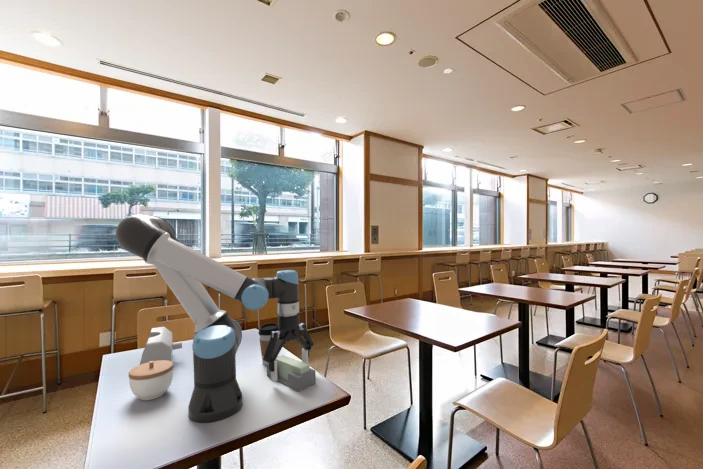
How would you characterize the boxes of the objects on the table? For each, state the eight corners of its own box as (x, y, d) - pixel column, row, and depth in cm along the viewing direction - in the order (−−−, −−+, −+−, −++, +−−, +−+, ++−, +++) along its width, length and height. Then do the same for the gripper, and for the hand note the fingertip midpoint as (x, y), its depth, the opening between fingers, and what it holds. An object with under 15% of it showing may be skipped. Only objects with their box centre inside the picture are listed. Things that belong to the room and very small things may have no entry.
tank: (182, 370, 126) (181, 338, 126) (133, 380, 119) (132, 346, 119) (182, 350, 148) (181, 323, 148) (141, 357, 141) (140, 329, 141)
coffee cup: (283, 358, 135) (282, 322, 135) (276, 367, 126) (275, 328, 126) (263, 358, 136) (262, 322, 136) (255, 366, 127) (254, 328, 127)
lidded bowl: (179, 394, 107) (178, 360, 107) (134, 409, 98) (133, 373, 98) (167, 382, 116) (166, 351, 116) (125, 395, 107) (124, 362, 107)
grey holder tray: (298, 391, 106) (298, 377, 106) (266, 375, 119) (266, 363, 119) (315, 383, 112) (315, 370, 112) (283, 369, 124) (283, 357, 124)
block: (274, 374, 118) (273, 358, 118) (283, 370, 122) (282, 354, 121) (301, 386, 109) (300, 368, 109) (310, 381, 112) (309, 364, 112)
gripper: (263, 323, 103) (265, 389, 103) (321, 308, 122) (323, 364, 122) (251, 319, 108) (253, 382, 109) (308, 305, 127) (310, 359, 127)
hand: (290, 373), depth 115 cm, fingers open, 13 cm apart
